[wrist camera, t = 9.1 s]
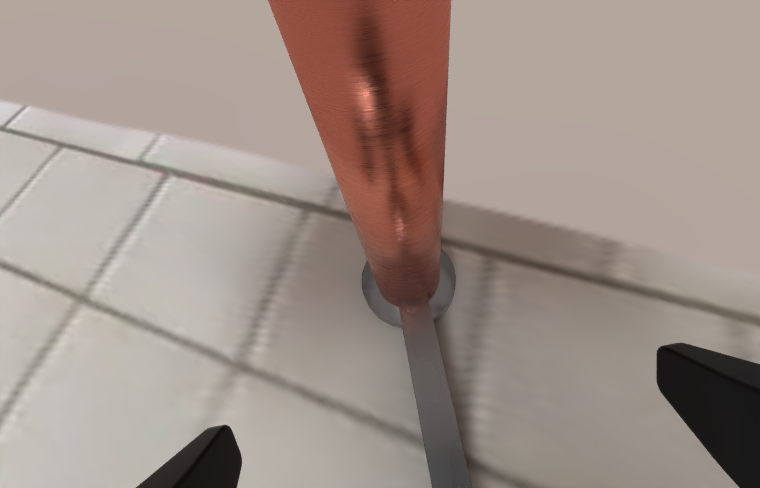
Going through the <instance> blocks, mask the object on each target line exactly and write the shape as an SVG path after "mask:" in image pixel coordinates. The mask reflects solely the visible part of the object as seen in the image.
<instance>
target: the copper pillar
mask: <svg viewBox="0 0 760 488" xmlns="http://www.w3.org/2000/svg"><path fill="white" fill-rule="evenodd" d="M268 1H269V3H270V6H271V9H272V12H273V14H274V17H275V20H276V22H277V25H278V27H279V30H280V32H281V35H282V38H283V40H284V43H285V46H286V48H287V51H288V53H289V56H290V59H291V61H292V64H293V66H294V69H295V72H296V74H297V77H298V79H299V82H300V85H301V87H302V90H303V93H304V95H305V98H306V100H307V103H308V106H309V108H310V111H311V114H312V116H313V119H314V121H315V124H316V127H317V129H318V132H319V134H320V137H321V140H322V142H323V145H324V147H325V150H326V153H327V155H328V158H329V161H330V163H331V166H332V168H333V171H334V174H335V176H336V179H337V181H338V184H339V187H340V189H341V192H342V194H343V197H344V200H345V202H346V205H347V208H348V210H349V213H350V215H351V218H352V221H353V223H354V226H355V228H356V231H357V234H358V236H359V239H360V241H361V244H362V247H363V249H364V252H365V255H366V257H367V260H368V261H367V263H366V265H365V267H364V270H363V274H362V289H363V293H364V296H365V298H366V300H367V302H368V304H369V306H370V308H371V309H372V311H373V312H374V313H375V314H376V315H377V316H378V317H379V318H380V319H382V320H383V321H385V322H387V323H389V324H391V325H393V326H397V327H402V328H403V333H404V338H405V344H406V349H407V354H408V360H409V365H410V371H411V376H412V381H413V387H414V392H415V397H416V403H417V408H418V413H419V419H420V424H421V430H422V435H423V440H424V446H425V451H426V456H427V462H428V467H429V473H430V478H431V483H432V488H472V485H471V481H470V476H469V472H468V468H467V463H466V459H465V455H464V451H463V446H462V442H461V438H460V433H459V429H458V425H457V420H456V416H455V412H454V407H453V403H452V399H451V395H450V390H449V386H448V382H447V377H446V373H445V369H444V364H443V360H442V356H441V351H440V347H439V343H438V338H437V334H436V330H435V326H434V321H435V320H436V319H438V318H439V317H440V316H441V315H442V314H443V313H444V312H445V311H446V310H447V308H448V307H449V305H450V303H451V301H452V298H453V295H454V290H455V281H456V280H455V271H454V268H453V265H452V263H451V261H450V259H449V257H448V256H447V255H446V253H445V252H444V251H443V250H442V249H441V230H442V206H443V182H444V158H445V133H446V109H447V86H448V63H449V62H448V61H449V39H450V13H451V0H268Z"/></svg>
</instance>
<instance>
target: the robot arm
mask: <svg viewBox="0 0 760 488" xmlns="http://www.w3.org/2000/svg"><path fill="white" fill-rule="evenodd" d="M657 384H658V387H659V389H660V391H661V393H662V394H663V396H664V397H665V398H666V399H667V401H668V402H669V403H670V404H671V406H672V407H673V408H674V409H675V411H676V412H677V413H678V414H679V416H680V417H681V418H682V419H683V421H684V422H685V423H686V424H687V426H688V427H689V428H690V429H691V431H692V432H693V433H694V434H695V436H696V437H697V438H698V439H699V441H700V442H701V443H702V444H703V446H704V447H705V448H706V449H707V451H708V452H709V453H710V454H711V456H712V457H713V458H714V459H715V460H716V461H717V463H718V464H719V465H720V466H721V467H722V469H723V470H724V471H725V472H726V473H727V474H728V475H729V476H730V477H731V479H732V480H733V481H734V482H735V483H736V484H737V485H738V486H739V487H740V488H760V364H757V363H753V362H750V361H746V360H743V359H739V358H735V357H732V356H728V355H725V354H721V353H717V352H714V351H710V350H707V349H703V348H699V347H696V346H692V345H689V344H685V343H675V344H669V345H664V346H661V347H659V348H658V350H657ZM241 466H242V457H241V453H240V450H239V447H238V445H237V442H236V440H235V437H234V434H233V432H232V430H231V428H230V427H229V426H228V425H221V426H215V427H210V428H208V429H206V430H205V431H204V432H203V433H201V434H200V435H199V436H198V437H197V438H195V439H194V440H193V441H192V442H191V443H189V444H188V445H187V446H186V447H184V448H183V449H182V450H181V451H180V452H178V453H177V454H176V455H175V456H174V457H172V458H171V459H170V460H169V461H168V462H166V463H165V464H164V465H163V466H162V467H160V468H159V469H158V470H157V471H156V472H154V473H153V474H152V475H151V476H150V477H148V478H147V479H146V480H145V481H143V482H142V483H141V484H140V485H139V486H137V487H136V488H237V484H238V480H239V476H240V471H241Z"/></svg>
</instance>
